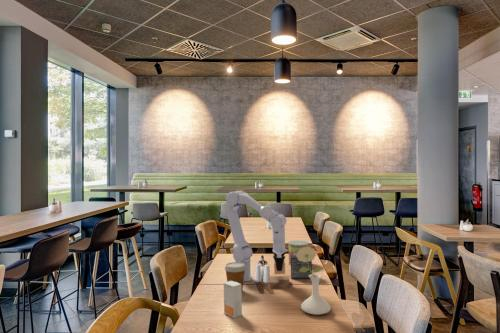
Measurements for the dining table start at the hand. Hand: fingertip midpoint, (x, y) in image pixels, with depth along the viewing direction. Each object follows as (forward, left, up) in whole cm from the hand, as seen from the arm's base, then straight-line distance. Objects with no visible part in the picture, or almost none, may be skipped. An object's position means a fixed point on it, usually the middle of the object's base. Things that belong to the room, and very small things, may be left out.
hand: (279, 269), depth 170 cm
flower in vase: (+13, -30, -8) cm, 34 cm away
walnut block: (0, 0, -8) cm, 8 cm away
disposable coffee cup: (-20, -9, -8) cm, 23 cm away
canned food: (+11, +36, -8) cm, 38 cm away
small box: (+11, +12, -8) cm, 18 cm away
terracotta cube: (0, 0, -2) cm, 2 cm away
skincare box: (-18, -34, -8) cm, 39 cm away
